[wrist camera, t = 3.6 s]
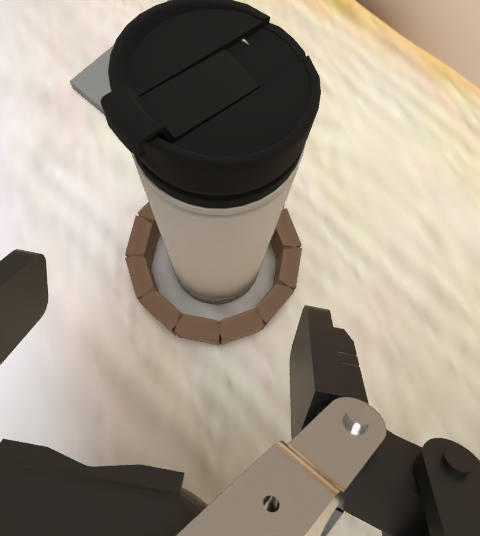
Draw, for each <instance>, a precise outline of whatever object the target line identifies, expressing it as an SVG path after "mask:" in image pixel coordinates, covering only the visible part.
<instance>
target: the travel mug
mask: <svg viewBox="0 0 480 536" xmlns="http://www.w3.org/2000/svg"><path fill="white" fill-rule="evenodd" d="M269 21H270V17H269V16H267V15H266V14H264V13H262V12H260V11H259V10H257V9H255V8H253V7H251V6H250V5H248V4H245V3H241V2H237V1H234V0H170V1H167V2H164V3H161V4H158V5H155V6H154V7H152V8H150V9H148V10H146V11H144V12H143V13H141V14H139V15H138V16H137V17H136V18H135V19H133V20H132V21H131V22H130V23H129V24H128V25H127V26H126V27H125V28H124V30H123V31H122V32H121V34H120V35H119V36H118V38H117V39H116V42H115V44H114V47H113V49H112V51H111V54H110V60H109V67H108V76H109V84H110V88H111V92H109V93H108V94H106V95H104V96H103V97H102V99H101V101H100V102H101V106H102V108H103V111H104V114H105V117H106V120H107V123H108V125H109V127H110V128H111V129H112V131H113V132H114V133H115V135H116V136H117V137H118V138H119V140H120V141H121V142H122V143H123V144H124V145H125V146H126V147H127V148H128V150H129V151H130V152H131V154H132V156H133V159H134V162H135V165H136V168H137V170H138V173H139V176H140V179H141V181H142V184H143V187H144V189H145V192H146V195H147V198H148V200H149V203H150V206H151V209H152V211H153V214H154V217H155V220H156V222H157V225H158V228H159V231H160V233H161V236H162V239H163V242H164V244H165V247H166V250H167V253H168V255H169V258H170V261H171V264H172V266H173V269H174V272H175V275H176V277H177V280H178V282H179V283H180V285H181V286H182V288H183V289H184V290H185V291H186V292H187V293H188V294H190V295H191V296H193V297H194V298H195V299H198V300H200V301H203V302H207V303H212V304H221V303H226V302H230V301H233V300H235V299H237V298H239V297H241V296H242V295H244V294H245V293H246V292H247V291H248V290H249V289H250V288H251V286H252V285H253V283H254V282H255V279H256V277H257V275H258V272H259V269H260V267H261V264H262V262H263V259H264V256H265V254H266V251H267V248H268V246H269V243H270V240H271V238H272V235H273V233H274V230H275V227H276V225H277V222H278V219H279V217H280V214H281V211H282V209H283V206H284V204H285V201H286V198H287V196H288V193H289V190H290V188H291V185H292V182H293V180H294V177H295V175H296V172H297V169H298V167H299V164H300V161H301V159H302V156H303V153H304V147H305V143H306V140H307V138H308V135H309V133H310V130H311V127H312V125H313V122H314V119H315V116H316V114H317V111H318V108H319V102H320V95H321V89H320V78H319V75H318V73H317V71H316V69H315V67H314V65H313V63H312V61H311V59H310V57H309V56H307V57H306V55H305V52H304V50H303V49H302V48H301V47H300V46H299V44H298V43H297V42H296V41H295V40H294V38H292V37H291V36H290V35H289V34H288V33H286V32H285V31H284V30H283V29H282V28H281V27H279V26H276V25H274V24H271V23H269Z"/></svg>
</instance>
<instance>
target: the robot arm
mask: <svg viewBox="0 0 480 536" xmlns="http://www.w3.org/2000/svg"><path fill="white" fill-rule="evenodd" d="M47 304H48V285H47V270H46V259H45V257H44V255H43V254H39V253H34V252H29V251H24V250H18V249H16V250H14V251H12V252H11V253H10V254H9V255H7V256H6V257H5V258H3V259H2V260H1V261H0V365H1V364H2V362H3V361H4V360H5V359H6V358H7V357H8V355H9V354H10V353H11V352H12V351H13V350H14V349H15V347H16V346H17V345H18V344H19V343H20V342H21V340H22V339H23V338H24V337H25V336H26V335H27V333H28V332H29V331H30V330H31V329H32V328H33V327H34V325H35V324H36V323H37V322H38V321H39V320H40V318H41V317H42V316H43V314H44V312H45V310H46V307H47ZM290 399H291V436H292V441H291V442H290V443H288V444H286V443H284V442H283V441H279V442H277V443H276V444H274V445H273V446H272V447H271V448H270V449H269V450H268V451H267V452H266V453H264V454H263V455H262V456H261V457H260V458H259V459H258V460H257V461H256V462H255V463H254V464H253V465H252V466H250V467H249V468H248V469H247V470H246V471H245V472H244V473H243V474H242V475H241V476H240V477H239V478H238V479H236V480H235V481H234V482H233V483H232V484H231V485H230V486H229V487H228V488H227V489H226V490H225V491H224V492H223V493H221V494H220V495H219V496H218V497H217V498H216V499H215V500H214V501H213V502H212V503H211V504H210V505H209V506H208V505H207V504H206V503H205V502H204V501H203V500H201V499H200V498H199V497H197V496H196V495H194V494H193V493H191V492H190V491H188V490H186V489H184V488H182V484H183V478H184V473H182V472H177V471H172V470H166V469H161V468H156V467H150V466H145V465H120V466H100V467H90V466H86V465H83V464H81V463H79V462H77V461H75V460H73V459H71V458H69V457H67V456H65V455H63V454H61V453H59V452H57V451H55V450H53V449H50V448H48V447H44V446H39V445H34V444H28V443H23V442H18V441H12V440H7V439H3V440H2V441H1V442H0V536H330V534H331V533H332V531H333V530H334V529H335V527H336V526H337V524H338V523H339V522H340V520H341V519H342V517H343V516H344V515H345V513H346V512H348V513H349V514H351V515H353V516H355V517H357V518H359V519H361V520H363V521H365V522H366V523H368V524H370V525H372V526H374V527H376V528H378V529H380V530H382V536H480V461H479V460H478V459H477V458H476V457H475V456H474V455H473V454H472V453H471V452H470V451H469V450H467V449H466V448H465V447H463V446H461V445H460V444H458V443H456V442H453V441H451V440H448V439H443V438H434V439H430V440H428V441H427V442H426V443H425V444H424V446H423V448H422V447H420V446H418V445H415V444H413V443H411V442H409V441H407V440H404V439H402V438H400V437H398V436H396V435H394V434H393V433H391V432H389V431H388V430H387V429H386V425H385V422H384V420H383V418H382V417H381V415H380V414H379V413H378V412H377V411H376V410H375V409H374V408H373V407H371V406H370V405H369V404H368V400H367V396H366V391H365V387H364V383H363V379H362V375H361V371H360V367H359V362H358V358H357V357H356V350H355V346H354V342H353V340H352V339H351V338H350V336H349V335H348V334H347V332H346V331H345V330H344V329H340V328H335V327H333V324H332V319H331V313H330V310H328V309H322V308H317V307H312V306H307V305H305V306H304V308H303V311H302V314H301V318H300V321H299V324H298V328H297V331H296V334H295V338H294V341H293V345H292V349H291V354H290Z"/></svg>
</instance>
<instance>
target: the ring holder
mask: <svg viewBox="0 0 480 536" xmlns="http://www.w3.org/2000/svg"><path fill="white" fill-rule="evenodd" d="M283 208H284V206H283ZM138 214H139V216H136V217H135V221H134V224H133V228H132V232H131V235H130V239H129V242H128V246H127V250H126V253H125V255H126V256H127V258H125V259H126V263H127V266H128V269H129V273H130V276H131V280H132V283H133V286H134V290H135V293H136V297H137V299H138V300H139V302H140V303H141V304H142V305H143V306H144V307H145V308H146V309H147V310H148V311H149V312H150V313H151V314H152V315H153V316H154V317H156V318H157V319H158V320H159V321H160V322H161V323H162V324H163V325H165V326H166V327H167V328H168V329H169V330H170V331H171V332H172V333H173V334H175V335H176V334H177V335H178V337H181V338H187V339H192V340H197V341H202V342H207V343H212V344H217V345H218V343H219V338H220V341H221V344H224V343H227V342H230V341H233V340H236V339H239V338H242V337H244V336H247V335H250V334H253V333H256V332H259V331H260V330H261V329H263V328H264V327H265V325H266V324H267V323H268V322H269V321H270V319H271V318H272V317H273V316H274V315H275V313H276V312H277V311H278V310H279V309H280V308H281V306H282V305H283V304H284V303H285V302H286V300H287V299H288V298H289V297H290V296H291V294H292V293H293V292H294V289H295V288H296V283H297V276H298V270H299V263H300V257H301V250H302V248H300V246H301V242H300V240H299V238H298V235H297V233H296V230H295V228H294V225H293V223H292V220H291V218H290V215H289V213H288V210H287V208H286V209H282V211H281V214H280V217H279V219H278V222H277V225H276V227H275V230H274V233H273V235H272V238H271V240H270V242H271V244H272V247H273V250H274V252H275V255H276V257H277V260H278V261H277V267H276V273H275V279H274V284H273V288H272V289H271V291H270V292H269V293H268V294H267V295H266V296H265V298H264V299H263V300H262V301H261V302H260V303H259V304H258V306H257V307H256V308H255V309H253V310H250V311H247V312H244V313H241V314H238V315H235V316H232V317H229V318H226V319H223V320H221V321H217V320H212V319H207V318H202V317H196V316H191V315H186V314H182V313H181V312H180V311H178V310H177V309H176V308H175V307H174V306H173V305H172V304H170V303H169V302H168V301H167V300H166V299H165V298H164V297H163V296H161V295H160V294H159V293H158V290H157V286H156V283H155V280H154V277H153V273H152V270H151V264H152V261H153V257H154V253H155V249H156V245H157V241H158V237H159V236H160V235H161V233H160V231H159V228H158V225H157V222H156V220H155V217H154V214H153V211H152V209H151V206H150V203H149V202H148V203H147V204H146V205H145V206H144V207H143V208H142V209H141V210H140V211H139V212H138Z"/></svg>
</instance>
